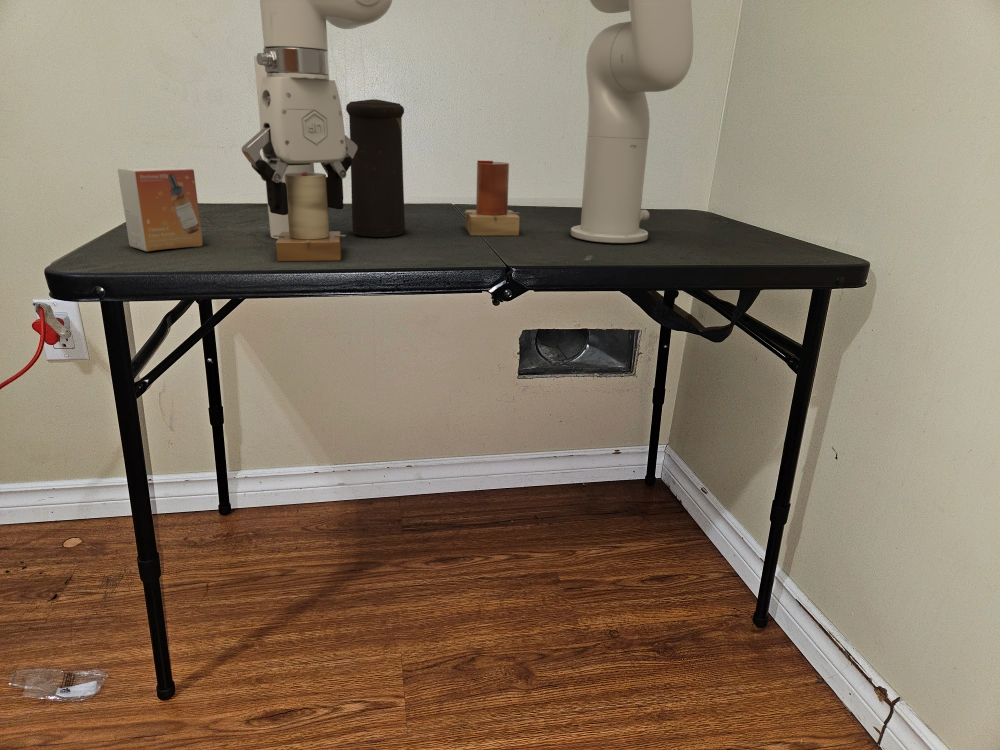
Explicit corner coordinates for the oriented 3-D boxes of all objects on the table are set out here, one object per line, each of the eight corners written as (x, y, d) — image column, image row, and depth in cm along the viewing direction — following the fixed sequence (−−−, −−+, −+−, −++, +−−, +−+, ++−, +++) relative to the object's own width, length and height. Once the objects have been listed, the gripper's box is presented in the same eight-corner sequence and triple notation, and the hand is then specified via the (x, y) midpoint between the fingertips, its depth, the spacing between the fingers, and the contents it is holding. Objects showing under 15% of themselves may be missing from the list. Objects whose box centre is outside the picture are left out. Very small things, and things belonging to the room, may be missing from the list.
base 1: (278, 248, 96) (276, 229, 95) (346, 247, 98) (345, 229, 97) (271, 262, 87) (269, 241, 86) (346, 261, 89) (345, 241, 88)
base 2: (460, 226, 118) (460, 208, 117) (514, 226, 119) (514, 208, 118) (466, 236, 109) (466, 216, 108) (523, 236, 111) (524, 216, 110)
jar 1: (291, 232, 93) (286, 169, 90) (330, 232, 94) (326, 170, 91) (288, 239, 89) (282, 173, 86) (329, 239, 90) (324, 174, 87)
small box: (145, 253, 90) (132, 170, 86) (128, 246, 94) (115, 167, 90) (204, 246, 96) (194, 168, 92) (186, 240, 99) (176, 165, 95)
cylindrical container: (324, 232, 108) (313, 60, 99) (308, 240, 102) (295, 56, 93) (281, 230, 109) (266, 59, 100) (262, 238, 102) (245, 55, 93)
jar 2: (505, 210, 116) (506, 160, 113) (509, 215, 111) (511, 162, 108) (474, 210, 115) (475, 159, 112) (477, 215, 110) (478, 161, 107)
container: (416, 232, 111) (415, 100, 104) (386, 240, 104) (381, 99, 97) (372, 227, 115) (368, 99, 107) (339, 234, 107) (332, 97, 100)
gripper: (250, 60, 75) (265, 220, 82) (372, 70, 88) (376, 208, 94) (215, 62, 80) (232, 213, 86) (335, 71, 92) (342, 202, 99)
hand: (307, 210), depth 90 cm, fingers open, 8 cm apart
